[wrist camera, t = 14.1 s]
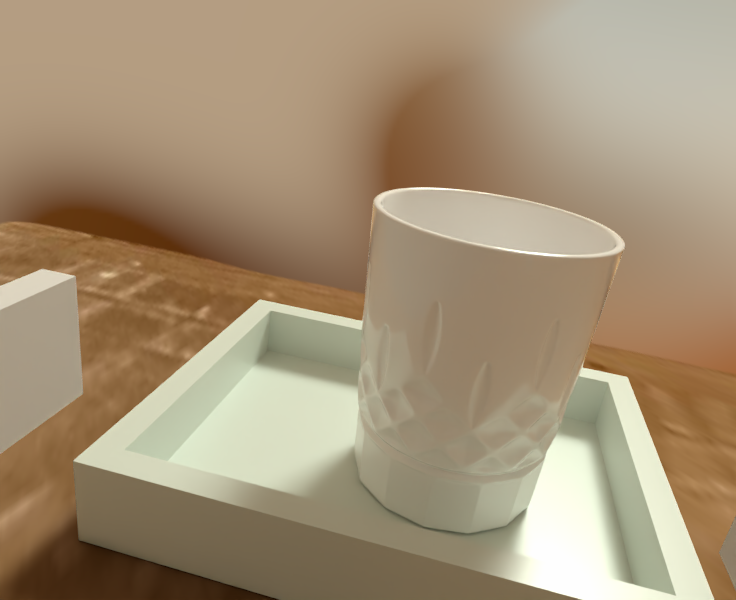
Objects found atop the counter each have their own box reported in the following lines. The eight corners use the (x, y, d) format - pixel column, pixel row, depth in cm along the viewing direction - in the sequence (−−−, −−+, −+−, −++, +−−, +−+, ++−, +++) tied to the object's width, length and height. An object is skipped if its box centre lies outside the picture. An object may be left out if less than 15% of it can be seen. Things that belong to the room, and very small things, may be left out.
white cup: (296, 480, 21) (325, 204, 17) (397, 392, 28) (434, 178, 24) (509, 590, 18) (601, 278, 14) (567, 461, 24) (640, 225, 21)
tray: (609, 431, 28) (627, 376, 27) (689, 721, 16) (729, 640, 14) (256, 352, 31) (259, 299, 30) (78, 540, 18) (73, 460, 17)
